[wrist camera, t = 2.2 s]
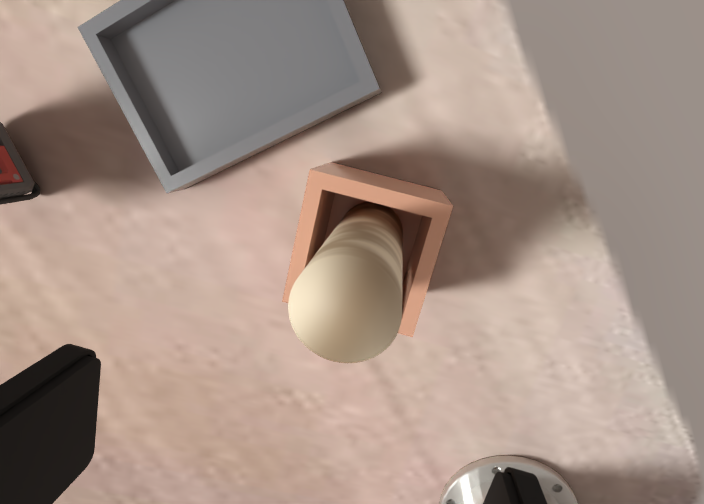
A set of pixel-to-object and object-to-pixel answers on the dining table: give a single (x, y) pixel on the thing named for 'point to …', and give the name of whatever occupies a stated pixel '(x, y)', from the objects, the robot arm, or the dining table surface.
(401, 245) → the birch dowel
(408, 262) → the terracotta box
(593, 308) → the dining table surface
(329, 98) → the charcoal tray
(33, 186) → the walkie-talkie
